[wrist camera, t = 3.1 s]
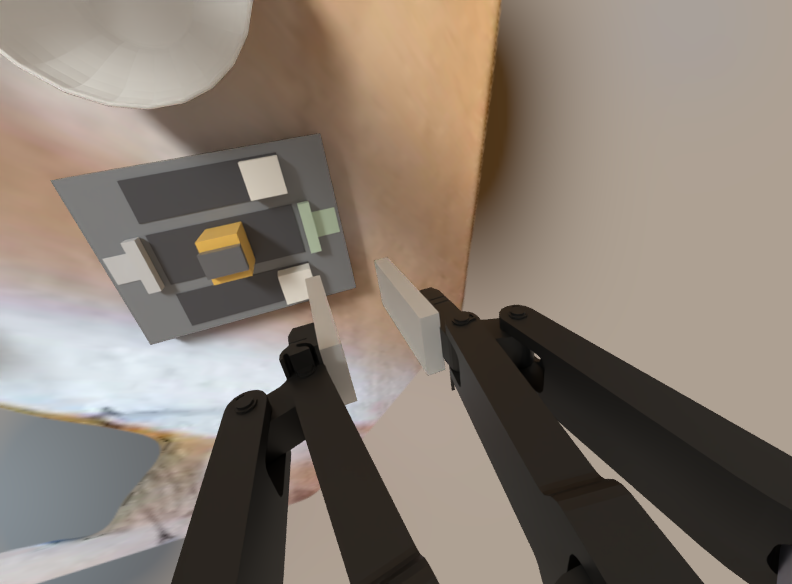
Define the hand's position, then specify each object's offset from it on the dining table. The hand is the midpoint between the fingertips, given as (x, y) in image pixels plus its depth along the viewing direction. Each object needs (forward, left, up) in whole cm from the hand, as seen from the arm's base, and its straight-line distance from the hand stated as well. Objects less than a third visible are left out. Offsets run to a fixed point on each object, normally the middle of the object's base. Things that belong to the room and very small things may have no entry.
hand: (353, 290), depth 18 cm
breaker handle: (-8, 0, -16) cm, 18 cm away
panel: (-8, 0, -19) cm, 20 cm away
